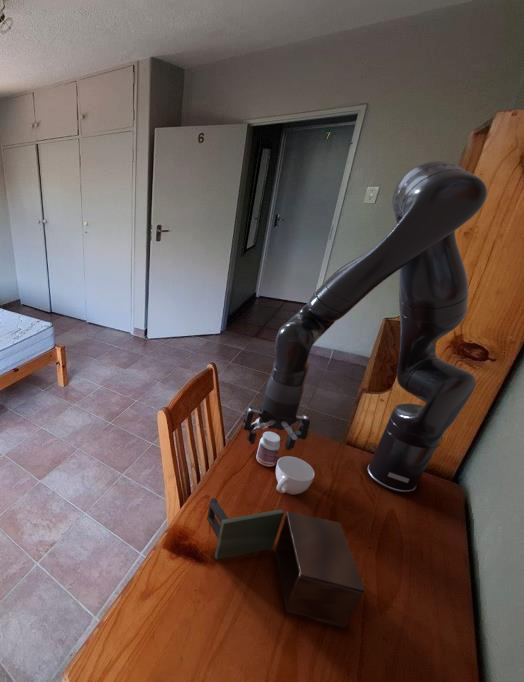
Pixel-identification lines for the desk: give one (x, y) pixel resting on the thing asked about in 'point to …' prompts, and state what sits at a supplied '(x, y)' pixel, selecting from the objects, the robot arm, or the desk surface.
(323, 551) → the cupboard
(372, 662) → the desk surface
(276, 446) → the pill bottle
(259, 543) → the cupboard door
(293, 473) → the cup
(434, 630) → the desk surface
